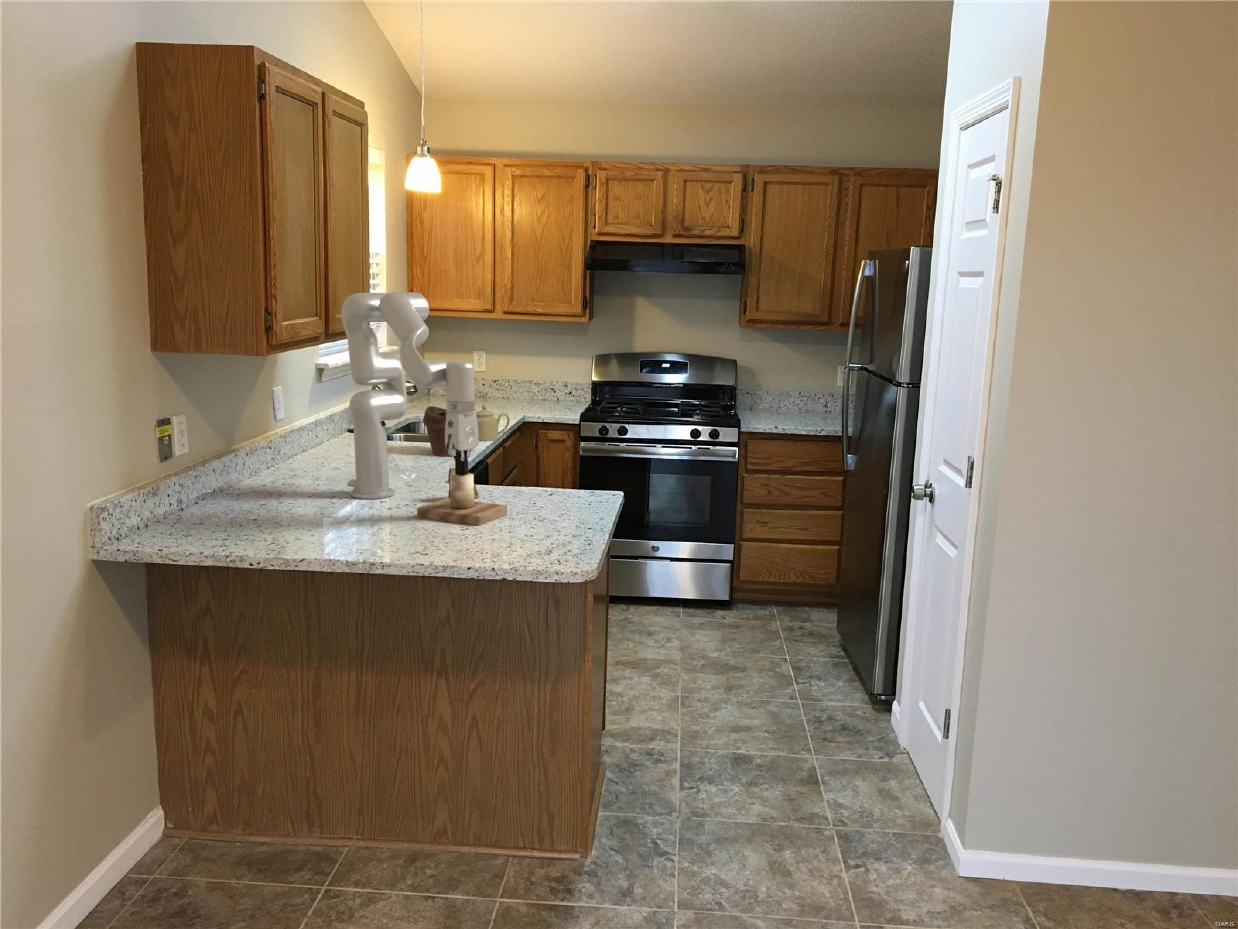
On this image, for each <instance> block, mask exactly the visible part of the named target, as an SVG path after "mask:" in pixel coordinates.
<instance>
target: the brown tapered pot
mask: <svg viewBox="0 0 1238 929" xmlns="http://www.w3.org/2000/svg"><path fill="white" fill-rule="evenodd" d="M446 415H447V409H445V408H442V407H439V406H434V405H433V406H427V407H426V408H425V410H424V416H423V418H422V423H423V424H424V425H425V427H426V431H427V437H428V440H429V445H430V448H431V454H432V455H434V456H437V457H453V456H452V455H448V449H447V448H446V446H445V424H446Z"/></svg>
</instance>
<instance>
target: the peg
mask: <svg viewBox="0 0 1238 929" xmlns="http://www.w3.org/2000/svg"><path fill="white" fill-rule="evenodd" d="M474 476H475V474H474V473H471V472H468V474H467V475H457V474H455V473H454V474H450V506H451V507H454V508H456V509H464V510H466V509H468V508H469V507H472V506H474V502H475V498H474V484H475V483H474V480H475V478H474Z"/></svg>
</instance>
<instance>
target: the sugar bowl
mask: <svg viewBox="0 0 1238 929" xmlns="http://www.w3.org/2000/svg"><path fill="white" fill-rule="evenodd" d="M487 407H488V406H487V405H486V404H485V403H483V404H482V405H481V410H478V411H476V416H477V422H478V433H479V442H493V441H498V439H499V436H500V435H501V434H503V433H504V432H505V431H506V430H507V429H508V428H509V425H510V422H511V420H510V416H509V414H507V413H506V412H501V413H500V414H499V415H498V417H497V418H496V417H495V413H494V412H493V411H491V410H488V409H487ZM502 416H506V418H507V419H506V420H507V422H506V425H505V426H504V428H503V429H502V430H500V431H499V424H500V419H501V417H502Z"/></svg>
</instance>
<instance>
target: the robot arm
mask: <svg viewBox="0 0 1238 929" xmlns="http://www.w3.org/2000/svg"><path fill="white" fill-rule="evenodd" d="M429 305H430V304H429V302H428V300H427V298H425V296H424V295H422V294H421V293H419V292H410V291H408V292H406V291H398V292H396V291H395V292H357V293H353V294H351V295H348V297H346V298H345V300H344V301H343V303H342V306H341V320H342V321H341V322H342V325H343V329H344V332H345V334H346V338H347V348H348V355H349V357H348V358H349V367H350V373H351V377H352V381H353V382H354V383H355V384H357V385H358V386H378V385H382V388H380V389H379V388H377V389H367V390H366V389H365V390H361V391H357V392H356V393H354V394H353V395H352V396H351V398H350V400H349V405H348V406H349V408H348V409H349V413H350V417H351V421H352V428H353V439H354V440H353V441H354V442H353V444H354V458H355V459H354V463H355V464H354V465H355V466H354V467H355V478H350V479H349V481H347V483H346V486H348V487H353V489H352V491H351V492H350V496H351V497H353V498H355V499H362V500H363V499H364V500H371V499H372V500H375V499H383V498H388V497H392V496H393V495H394V494H395V489H393V488H391V487H390V483H389V482H390V481H389V479H390V478H389V453H388V452H389V450H388V435H387V433H386V431H385V429H384V427H383V426H382V425H381V422H385V421H393V420H398V419H401V418H403V417H404V416H405V415H406V413H407V410H408V396H407V395H408V394H407V383H406V376H405V373H406V374H407V376H408V377H409V379H410V380H411V381H412V383H414V385H416V386H418V387H419V388H422V389H429V388H443V387H444V388H445V397H446V398H445V401H446V404H445V405H446V410H447V415H446V424H445V446H446V448H447V449H448V455H452V456H451V457H453V461H454V468H455V474H457V475H467V474H468V473H469V460H470V456H471V455H470V454H471V452H473V451H474V450H475V448H477V447H478V446H479V445H480V444H479V443H480V441H479V433H478V422H477V416H476V413H477V411H476V410H475V409H476V408H475V407H476V404H475V402H476V400H475V366H474V364H473V363H472V362H471V361H466V360H456V359H452V358H440V359H439V358H436V359H435V358H434V359H424V358H423V357H422V355H420V353H419V352H418V350H417V348H419V347H420V346H421V345H422V344H424V343H425V342H426V340H427V339H428V337H429V333H430V331H429V327H428V326H427V325H426V323H425V320H426V319H427V318H428V316H429V314H430V306H429ZM369 323H387V325H388V326H389V327H390V329H391V330H392V332H393V333H394V335H395V336H396V338H397V339H398V340H399V342H400V343H401V344H400V347H399V356H398V355H397V354H396V353H393V352H389V351H388V352H387V351H386V352H385V351H384V352H380V350H379V343H378V342H379V341H378V336H377V334H376V332H375V331H374V329H373V328H372V327H371V325H369Z"/></svg>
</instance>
